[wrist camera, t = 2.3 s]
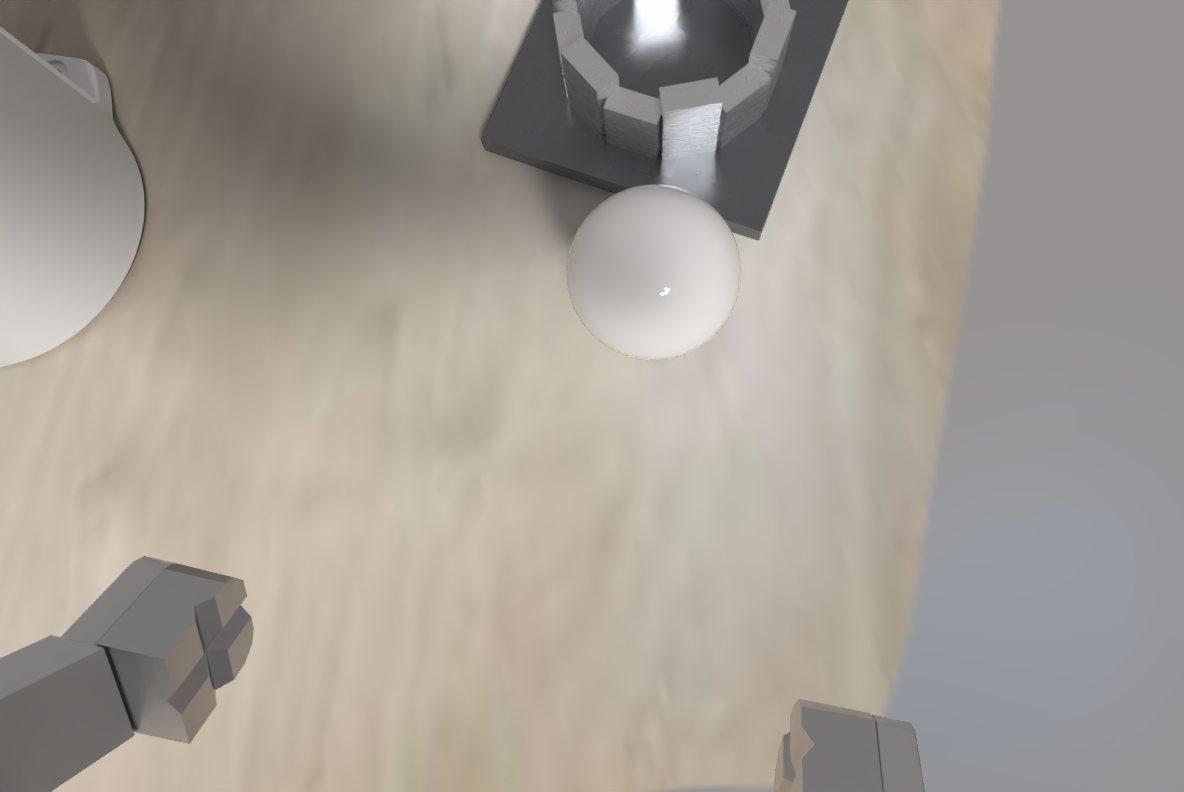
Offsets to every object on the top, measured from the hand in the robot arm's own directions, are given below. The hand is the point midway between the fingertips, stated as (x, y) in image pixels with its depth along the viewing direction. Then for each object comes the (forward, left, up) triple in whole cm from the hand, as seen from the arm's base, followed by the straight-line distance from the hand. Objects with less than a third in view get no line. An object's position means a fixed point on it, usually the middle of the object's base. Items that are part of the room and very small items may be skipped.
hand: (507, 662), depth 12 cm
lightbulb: (-2, +12, -24) cm, 27 cm away
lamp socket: (-6, +25, -24) cm, 36 cm away
